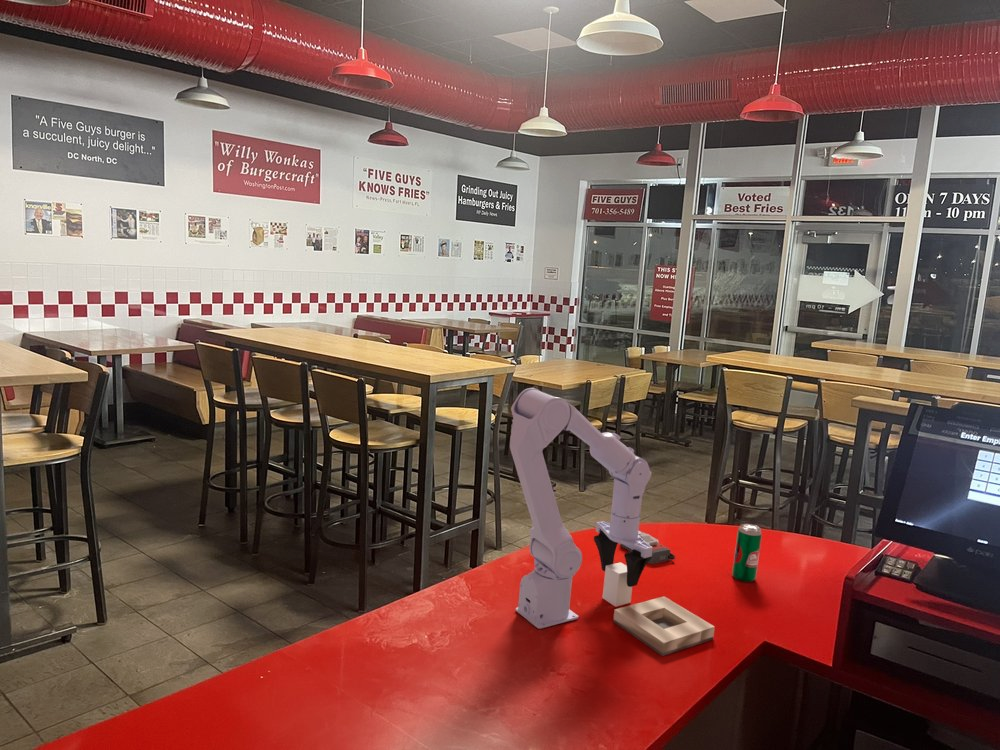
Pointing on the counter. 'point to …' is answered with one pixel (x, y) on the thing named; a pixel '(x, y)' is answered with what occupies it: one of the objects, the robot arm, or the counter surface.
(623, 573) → the white rectangular block
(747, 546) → the soda can
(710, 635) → the holder block
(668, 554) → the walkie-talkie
